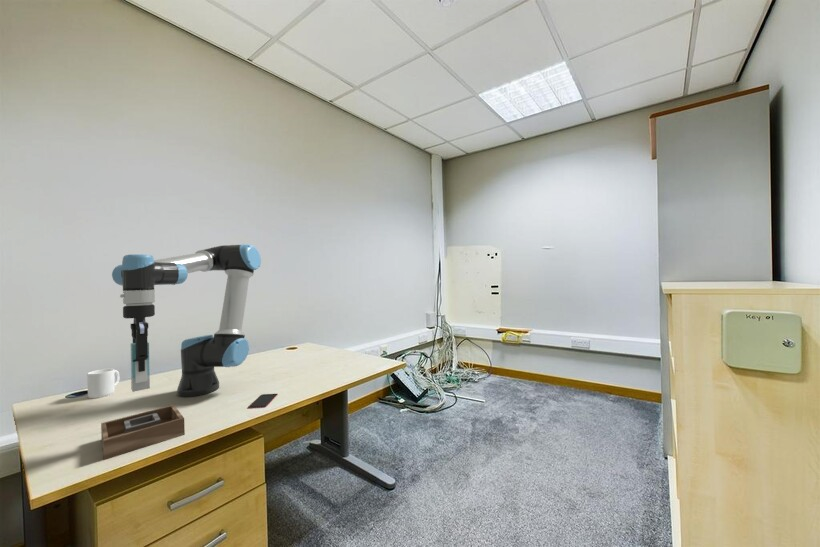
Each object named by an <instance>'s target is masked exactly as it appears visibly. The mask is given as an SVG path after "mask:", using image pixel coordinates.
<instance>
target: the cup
mask: <svg viewBox="0 0 820 547" xmlns="http://www.w3.org/2000/svg"><path fill="white" fill-rule="evenodd" d="M86 374H87V375H86V376H87V378H86V379H87V396H88V398H89V399H100V398H99V397H101V398H104V396H105V397H108V395H109V396H111V395H113V394H114V393H115V392H116V386H117V385H118V384H119V382H120V372H119V371H118V370H116V369H115V368H111V367H110V368H102V369H96V370H92V371H89V372H87V373H86ZM115 376H116V378H115ZM110 394H111V395H110Z"/></svg>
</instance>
